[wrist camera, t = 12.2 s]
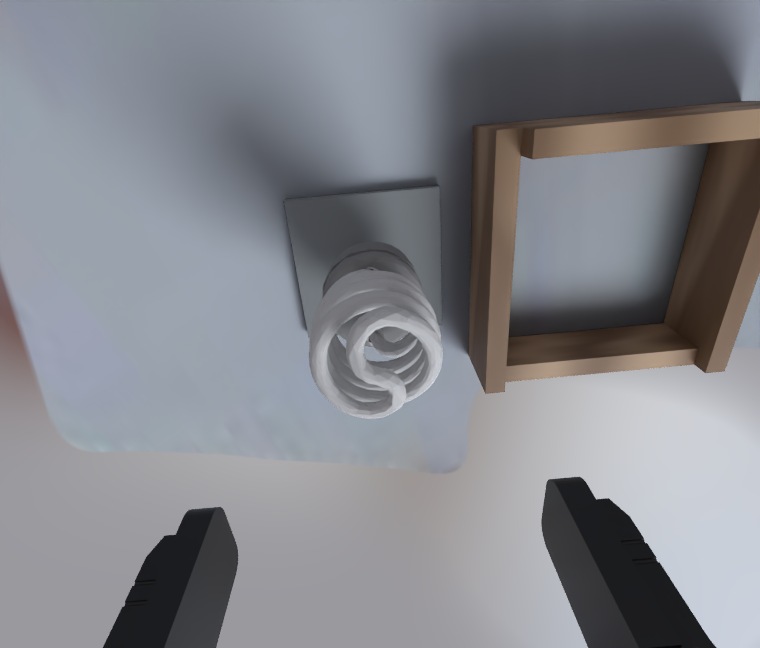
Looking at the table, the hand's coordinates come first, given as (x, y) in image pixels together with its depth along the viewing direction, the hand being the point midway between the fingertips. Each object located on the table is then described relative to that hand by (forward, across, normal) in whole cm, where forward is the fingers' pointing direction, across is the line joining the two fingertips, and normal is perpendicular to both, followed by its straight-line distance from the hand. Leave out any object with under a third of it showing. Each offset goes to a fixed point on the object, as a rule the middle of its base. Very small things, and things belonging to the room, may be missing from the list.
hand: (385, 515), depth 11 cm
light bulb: (+18, 0, 0) cm, 18 cm away
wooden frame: (+19, -14, 0) cm, 23 cm away
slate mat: (+18, 0, 0) cm, 18 cm away
